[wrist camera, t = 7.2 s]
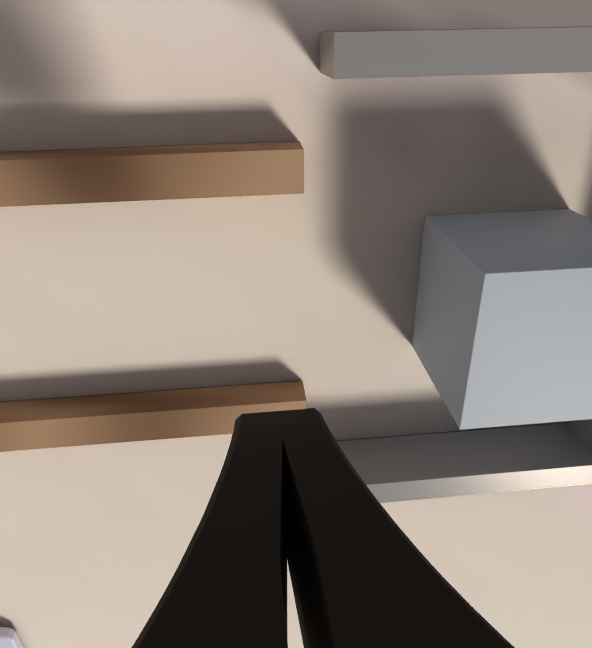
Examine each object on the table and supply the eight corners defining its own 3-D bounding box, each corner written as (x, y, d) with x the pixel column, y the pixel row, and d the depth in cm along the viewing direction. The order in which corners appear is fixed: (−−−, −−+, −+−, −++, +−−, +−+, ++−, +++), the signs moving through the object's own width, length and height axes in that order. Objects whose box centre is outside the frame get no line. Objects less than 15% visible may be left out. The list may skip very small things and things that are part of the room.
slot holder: (-30, 431, 16) (-46, 455, 15) (-140, 157, 12) (-169, 166, 11) (303, 407, 17) (306, 427, 16) (298, 141, 13) (303, 149, 12)
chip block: (411, 344, 16) (459, 429, 13) (424, 214, 14) (484, 273, 11) (538, 335, 16) (619, 416, 13) (567, 207, 15) (672, 263, 11)
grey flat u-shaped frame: (318, 461, 18) (327, 507, 16) (319, 31, 12) (334, 32, 10) (583, 438, 19) (619, 481, 17) (713, 24, 13) (789, 22, 11)
